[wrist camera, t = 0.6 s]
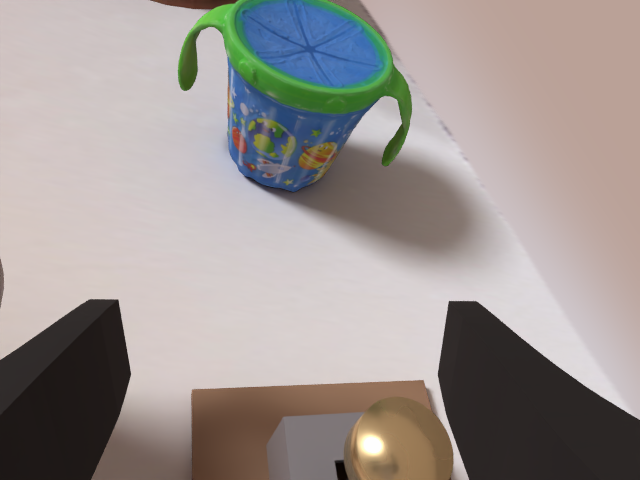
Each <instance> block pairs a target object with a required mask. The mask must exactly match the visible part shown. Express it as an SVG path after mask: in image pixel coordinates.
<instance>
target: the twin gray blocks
mask: <svg viewBox="0 0 640 480" xmlns="http://www.w3.org/2000/svg"><path fill="white" fill-rule="evenodd" d="M364 413H365V412H356V413H339V414H322V415H304V416H287V417H283V418H282V420H281V422H280V423H279V425H278V427H277V428H276V430H275V432H274V433H273V435H272V437H271V438H270V440H269V442H268V443H267V445H266V448H267V459H268V470H269V480H337V473H336V467H335V463H341V462H344V444H345V440H346V437H347V435H348V433H349V431H350V429H351V428H352V426H353V425H354V424H355V423H356V422H357V421H358V419H359V418H360V417H361V416H362V415H363V414H364Z"/></svg>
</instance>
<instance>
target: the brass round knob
mask: <svg viewBox="0 0 640 480" xmlns="http://www.w3.org/2000/svg"><path fill="white" fill-rule="evenodd" d="M344 465H345V469H346V472H347V475H348V479H347V480H449V479H450V476H451V473H452V469H453V449H452V445H451V441H450V438H449V436H448V433H447V431H446V429H445V428H444V426H443V424H442V423H441V422H440V420H439V419H438V418H437V417H436V415H435V414H434V413H433V412H432V411H430V410H429V409H428V408H427V407H425V406H424V405H422V404H421V403H419V402H417V401H414V400H412V399H409V398H405V397H388V398H384V399H381V400H379V401H377V402H376V403H374V404H373V405H372V406H371V407H369V408H368V409H367V411H366V412H365V413H364V414H363V415H362V416H361V417H360V418H359V419H358V421H357V422H356V423H355V424H354V425H353V426H352V428H351V429H350V431H349V433H348V435H347V437H346V440H345V444H344Z"/></svg>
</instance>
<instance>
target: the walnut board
mask: <svg viewBox="0 0 640 480" xmlns="http://www.w3.org/2000/svg"><path fill="white" fill-rule="evenodd" d="M388 397H405V398H409V399H412V400H414V401H417V402H419V403H421V404H422V405H424V406H425V407H427V408H428V409H429V410H430V411H432V409H431V406H430V402H429V398H428V395H427V391H426V388H425V384H424V381H423V380H417V381H393V382H368V383H343V384H318V385H293V386H269V387H244V388H219V389H194V390H192V394H191V405H192V480H269V470H268V459H267V448H266V445H267V443H268V442H269V440H270V438H271V437H272V435H273V433H274V432H275V430H276V428H277V427H278V425H279V423H280V422H281V420H282V418H283V417H287V416H304V415H322V414H339V413H356V412H366V411H367V409H368V408H369V407H371V406H372V405H373V404H374V403H376V402H377V401H379V400H381V399H384V398H388ZM335 467H336V473H337V480H347V479H348V475H347V472H346V469H345V465H344V462H341V463H335ZM449 480H451V477H450V479H449Z"/></svg>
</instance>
